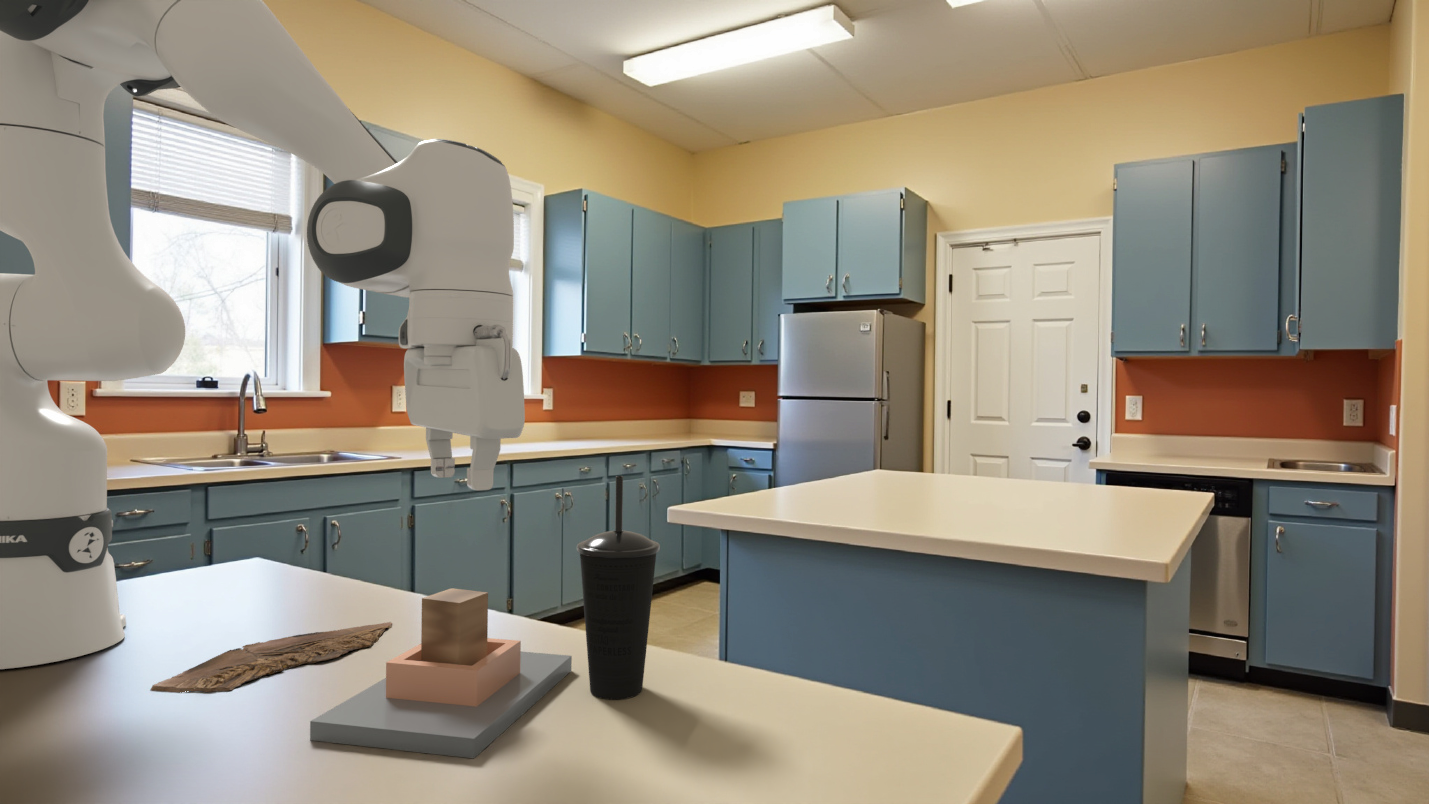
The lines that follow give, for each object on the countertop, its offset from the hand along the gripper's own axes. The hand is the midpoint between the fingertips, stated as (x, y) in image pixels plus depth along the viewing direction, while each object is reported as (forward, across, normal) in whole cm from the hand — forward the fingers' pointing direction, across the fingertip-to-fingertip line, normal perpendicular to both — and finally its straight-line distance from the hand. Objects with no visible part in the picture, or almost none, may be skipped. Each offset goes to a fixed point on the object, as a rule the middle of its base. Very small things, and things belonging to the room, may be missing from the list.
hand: (460, 482), depth 73 cm
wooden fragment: (+20, +22, +10) cm, 31 cm away
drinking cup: (+20, -6, -13) cm, 24 cm away
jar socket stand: (+20, -1, 0) cm, 20 cm away
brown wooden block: (+18, -1, +1) cm, 18 cm away
